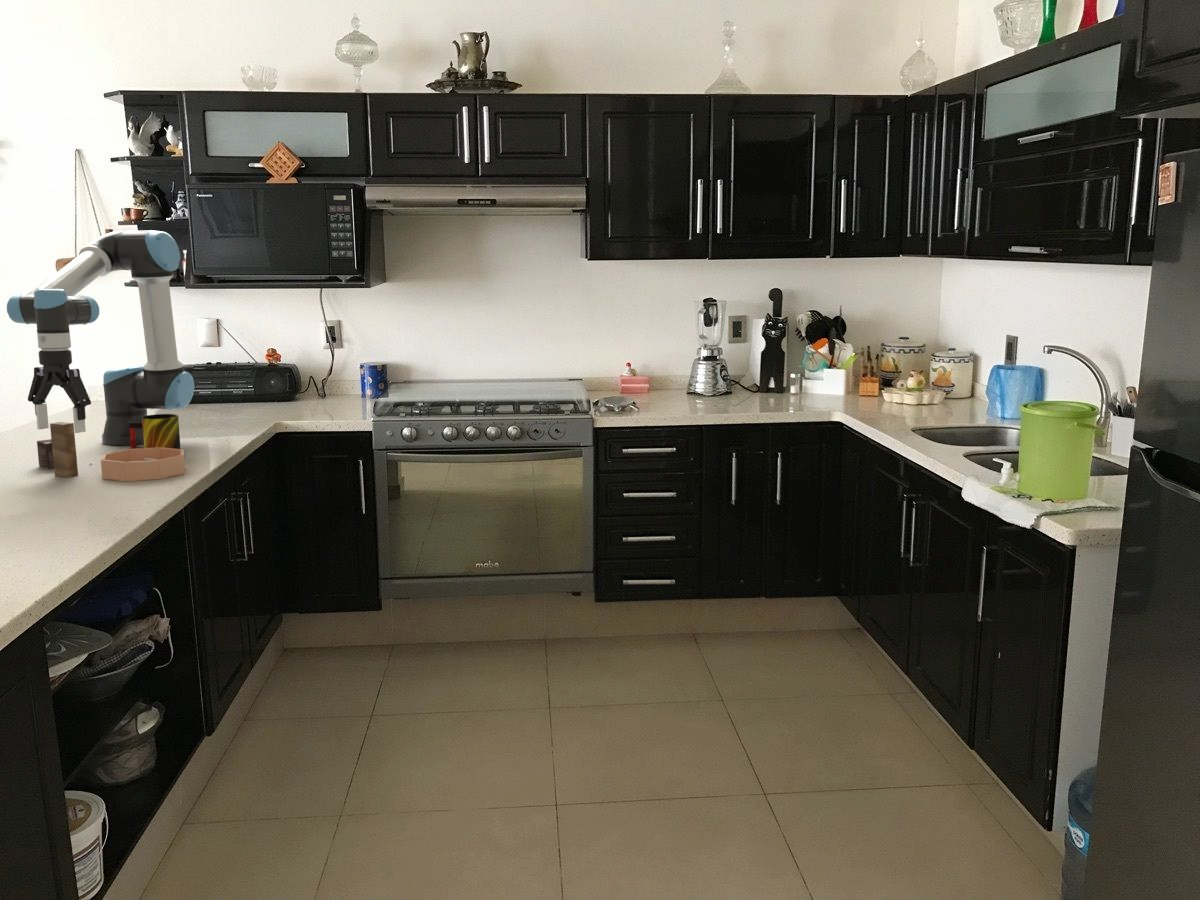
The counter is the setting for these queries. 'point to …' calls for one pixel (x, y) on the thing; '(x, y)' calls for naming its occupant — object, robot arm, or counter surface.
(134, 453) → the octagonal terracotta bowl
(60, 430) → the wooden rectangular block
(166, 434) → the mug
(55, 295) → the robot arm
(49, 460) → the box
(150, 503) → the counter surface
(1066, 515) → the counter surface
